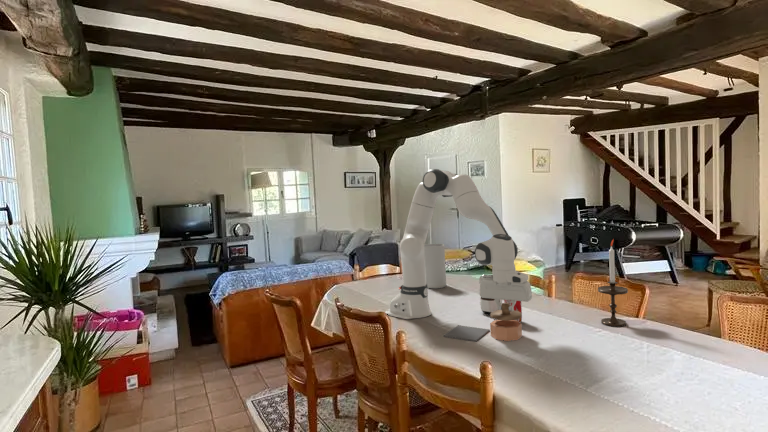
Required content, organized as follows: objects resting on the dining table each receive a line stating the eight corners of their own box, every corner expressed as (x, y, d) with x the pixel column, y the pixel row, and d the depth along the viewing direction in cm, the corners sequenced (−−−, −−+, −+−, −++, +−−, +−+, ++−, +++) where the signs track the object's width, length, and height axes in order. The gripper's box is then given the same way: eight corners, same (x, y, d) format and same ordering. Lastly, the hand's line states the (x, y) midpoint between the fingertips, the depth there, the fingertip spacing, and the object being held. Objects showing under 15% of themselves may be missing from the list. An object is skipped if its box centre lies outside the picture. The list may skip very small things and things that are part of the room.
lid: (485, 318, 176) (485, 306, 175) (496, 310, 186) (496, 298, 185) (516, 321, 169) (515, 309, 169) (525, 313, 179) (525, 301, 179)
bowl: (487, 338, 176) (487, 325, 176) (497, 329, 185) (497, 317, 185) (515, 342, 170) (515, 329, 170) (524, 333, 179) (524, 321, 179)
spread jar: (492, 316, 203) (491, 291, 203) (472, 312, 212) (471, 288, 211) (507, 310, 211) (506, 286, 211) (487, 306, 220) (486, 283, 219)
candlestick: (631, 322, 185) (629, 237, 183) (624, 329, 177) (622, 241, 175) (603, 317, 192) (601, 236, 190) (595, 324, 184) (592, 240, 182)
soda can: (522, 324, 190) (521, 296, 189) (505, 324, 191) (504, 296, 191) (521, 319, 197) (520, 292, 196) (504, 319, 198) (503, 292, 198)
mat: (443, 336, 181) (443, 335, 181) (458, 326, 193) (458, 325, 193) (476, 341, 173) (476, 340, 173) (489, 330, 185) (489, 329, 185)
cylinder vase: (424, 289, 264) (422, 247, 262) (426, 284, 276) (423, 244, 275) (446, 288, 262) (443, 246, 260) (446, 283, 274) (444, 243, 273)
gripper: (476, 275, 179) (477, 309, 180) (527, 279, 168) (529, 315, 169) (482, 272, 185) (483, 305, 186) (532, 275, 173) (534, 310, 174)
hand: (505, 310), depth 177 cm, fingers closed on lid, 3 cm apart
